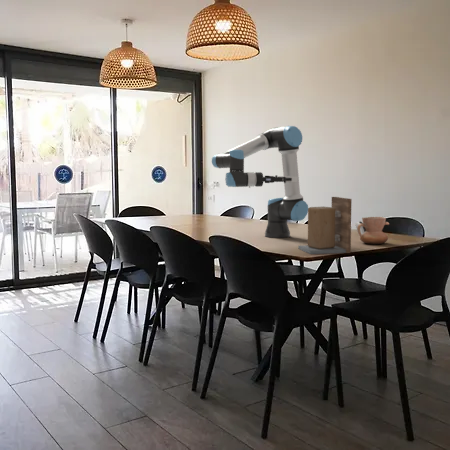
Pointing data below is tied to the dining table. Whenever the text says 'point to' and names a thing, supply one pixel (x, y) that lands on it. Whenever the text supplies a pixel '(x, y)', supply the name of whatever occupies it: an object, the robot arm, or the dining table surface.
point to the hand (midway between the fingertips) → (293, 179)
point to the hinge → (362, 229)
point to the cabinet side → (342, 222)
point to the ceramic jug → (373, 230)
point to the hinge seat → (321, 250)
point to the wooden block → (321, 227)
